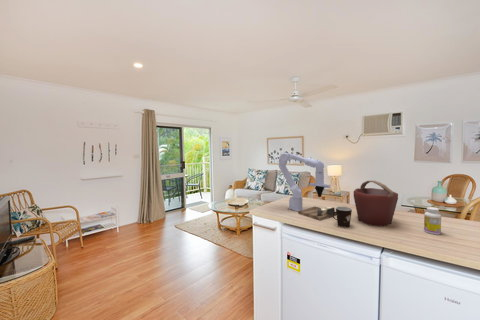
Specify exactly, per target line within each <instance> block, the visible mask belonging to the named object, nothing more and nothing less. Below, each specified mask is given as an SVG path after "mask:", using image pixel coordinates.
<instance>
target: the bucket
mask: <svg viewBox="0 0 480 320" xmlns="http://www.w3.org/2000/svg"><path fill="white" fill-rule="evenodd" d="M369 183H374V184H375V185H378V186H380V187H381V188H382V189H381V188H374V187H373V188H372V187H370V188H369V187H367V188H366V186H367V185H368V184H369ZM353 200H354V205H355V210H356V214H357V218H358V222H361V223H363V224H366V225H368V226H375V227H387V226H390V225H392V223H393V220H394V215H395V212H396V208H397V203H398V200H399V193H397V192H396V191H393V190H392V189H390V188H389V187H388V186H387V185H385V184H384V183H382V182H380V181H376V180H366V181H363V182H362V183H361V185H360V187H358V188H355V189H354V190H353Z"/></svg>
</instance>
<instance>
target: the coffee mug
mask: <svg viewBox="0 0 480 320" xmlns="http://www.w3.org/2000/svg"><path fill="white" fill-rule="evenodd" d="M352 211H353V209H352V208H351V207H348V206H336V207H335V212H334V213H333V217H332V218H333V219H334V220H335V221H336V222H337V226H339V227H341V228H350V226H351V220H352ZM335 213H336V216H334V214H335Z"/></svg>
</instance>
